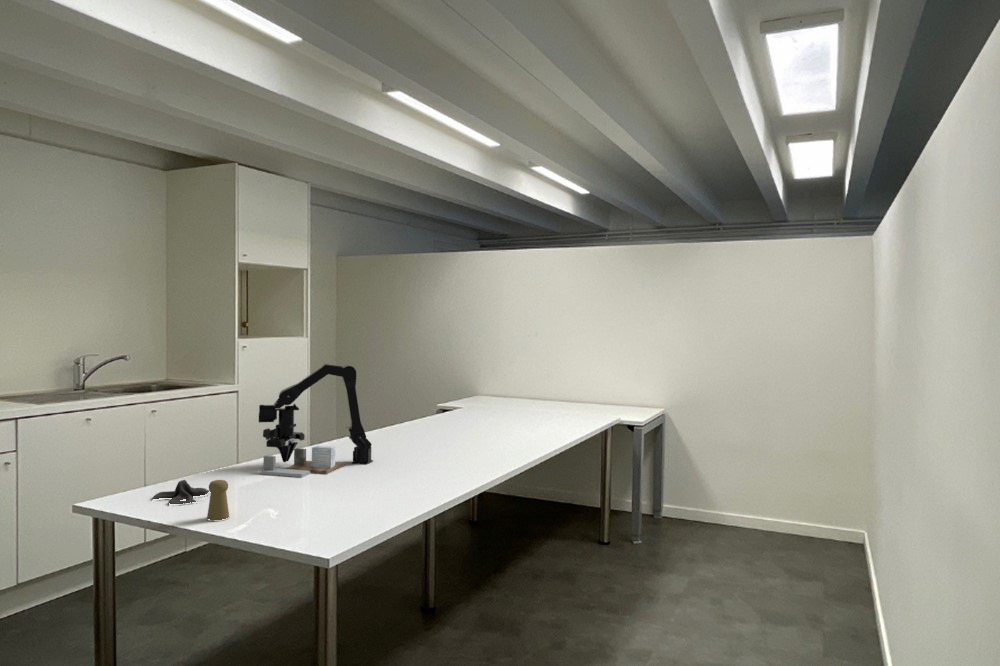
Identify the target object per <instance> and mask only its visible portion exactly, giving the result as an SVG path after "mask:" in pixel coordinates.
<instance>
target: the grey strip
mask: <svg viewBox="0 0 1000 666" xmlns="http://www.w3.org/2000/svg"><path fill="white" fill-rule="evenodd" d="M276 457H277V456H276V455H264V456H263V468H262V470H260V472H259V474H260V475H263V474H267V475H266V476H276V475H280V476H279V477H289V476H291V478H292V477H293V478H304V477H306V475H307V476H309V475H310V474H311V473H310V471H307V470H294V469H286V468H280V467H276V460H277V459H276Z"/></svg>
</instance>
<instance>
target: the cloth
mask: <svg viewBox="0 0 1000 666" xmlns="http://www.w3.org/2000/svg"><path fill="white" fill-rule="evenodd" d="M208 492H209V489H207V488H204V487H192V486H191V485H190V484H189V483H188V481H187V480H186V479H182V480H179V481H178V482H177V484H176V487H175V489H174V490H172V491H171V490H170V491H160V492H157V493H155V495H154V496H153V497H151V500H152V499H159V498H172V499H171V500H168V504H169V503H170V504H183V503H190V502H191V503H192V502H196V501H197V500H195V498H193V496H200V495H205V494H207V493H208ZM183 499H186V501H180V500H183Z"/></svg>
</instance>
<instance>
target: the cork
mask: <svg viewBox="0 0 1000 666" xmlns="http://www.w3.org/2000/svg"><path fill="white" fill-rule="evenodd" d="M228 488H229V482H228V481H227V480H226V479H215V480H213V481H212V480H211V481H210V483H209V484H208V490H209V491H210V492H211V493H210V494H209V496H210V497H209V503H208V507H207V508H208V509H207V514H206V515H207V517H206V520H207V519H210V520H222V519H226V518H228V517H229V518H230V512H229V504H228V503H229V502H228V496H227V491H228Z"/></svg>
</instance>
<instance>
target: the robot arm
mask: <svg viewBox="0 0 1000 666" xmlns="http://www.w3.org/2000/svg"><path fill="white" fill-rule="evenodd" d="M328 375H329V376H330V375H331V376H335V377H341V380H342V383H343V386H344V388H345V394H346V400H347V407H348V412H349V420H350V424H349V426H346V429H347V432H348V435H347V437H348V438H349V440H351V442H352V443H353V444H354V445H355V446H354V448H353V451H352V462H351V464H356V463H360V464H359V465H368V464H370V463H373V462H374V459H372V445H373V444H372V442H371V441H369V439H368V438H367V434H366V432H365V429H364V427H363V424H362V421H361V416H360V410H359V402H358V396H357V388H356V385H357V370H356V368H355V367H353V366H352V365H349V364H345V365H343V366H342V365H335V364H328V363H324V364H323V365H322V366H321V367H319V368H317V369H316V370H315V371H313V372H312V373H310V374H309V375H307V376H306V377H304V378H303V379H302V380H301V381H299V382H297V383H295V384H292V385H290V386H288V387H286V388H284V389H282V390H280V391H279V393H278V398H277V400H276V401H274V403H273V404H259V405H258V423H261V424H262V423H274V422H275V421H276V420H277V419H278V424H276V425H275V428H274V429H270V427H269V428H265V429H263V432H262V437H263V438H265V440H266V441H265V442H266V448H267V447H268V448H277V449H278V451H279V454H280V457H281V459H282V462H283V463H286V462H289V461H290V459H291V456H292V455H293V454H294V449H296V446H297V445H298V442H297V441H296V440H299V441H300V442H301V441H304V440H305V438H306V437H305V433H304V432H299V431H298V432H297V431H295V429H294V428H296V427H297V423H295V411H299V410H300V407H298V406H297V405H296V403H294V402H295V401H296V400H297V399H299V397H300V396H301V395H302V393H304V392H305V391H306V390H308V389H309V388H310V387H312V386H313V385H314V384H316V383H318V382H320V381H321V380H322V379H324V378H325V377H326V376H328ZM292 404H293V405H292ZM295 441H296V442H295ZM367 463H368V464H367Z"/></svg>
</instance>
